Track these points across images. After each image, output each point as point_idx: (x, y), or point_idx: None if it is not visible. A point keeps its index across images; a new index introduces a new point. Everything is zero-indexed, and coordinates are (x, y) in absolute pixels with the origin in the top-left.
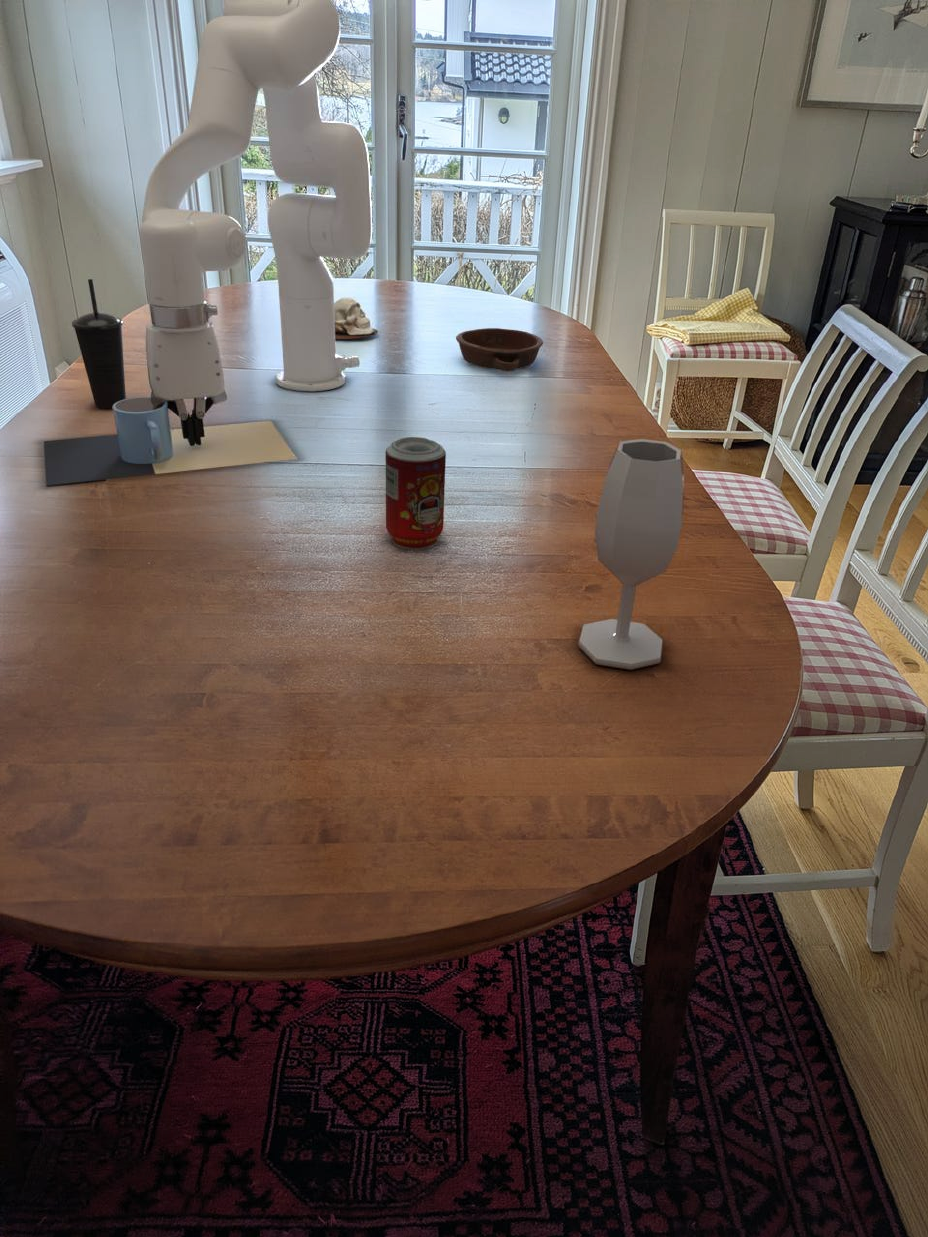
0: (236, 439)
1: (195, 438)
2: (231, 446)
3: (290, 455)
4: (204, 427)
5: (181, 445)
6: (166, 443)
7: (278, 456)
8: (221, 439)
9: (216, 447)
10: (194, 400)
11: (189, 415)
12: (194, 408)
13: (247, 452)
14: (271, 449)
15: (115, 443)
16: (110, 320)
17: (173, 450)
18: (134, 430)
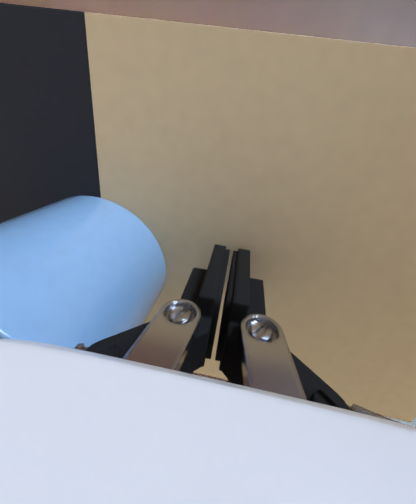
0: (375, 260)
1: (223, 306)
2: (325, 301)
3: (414, 405)
4: (353, 58)
5: (198, 232)
6: None
7: (384, 398)
8: (332, 238)
9: (283, 290)
10: (244, 385)
11: (202, 362)
12: (238, 352)
13: (336, 351)
14: (405, 363)
15: (7, 122)
16: None
17: (161, 291)
18: None
